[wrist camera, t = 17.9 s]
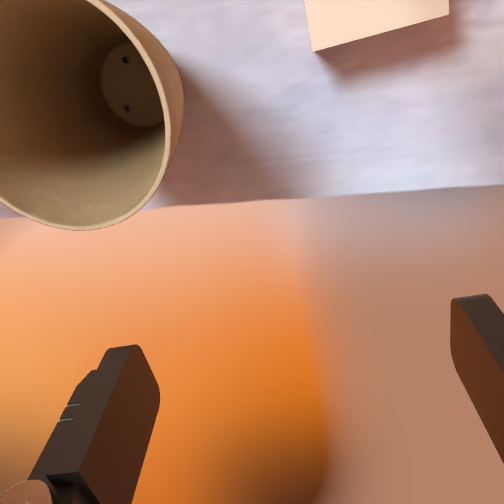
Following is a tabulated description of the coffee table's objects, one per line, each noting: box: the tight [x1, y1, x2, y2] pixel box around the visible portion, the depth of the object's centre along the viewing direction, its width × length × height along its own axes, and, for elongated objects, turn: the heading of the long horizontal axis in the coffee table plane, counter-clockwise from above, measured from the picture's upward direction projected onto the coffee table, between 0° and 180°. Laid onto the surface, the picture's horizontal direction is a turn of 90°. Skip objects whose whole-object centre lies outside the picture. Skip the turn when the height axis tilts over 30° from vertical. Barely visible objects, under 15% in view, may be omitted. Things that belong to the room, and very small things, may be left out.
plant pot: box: [0, 0, 184, 231], centre depth 32 cm, size 15×15×16 cm
